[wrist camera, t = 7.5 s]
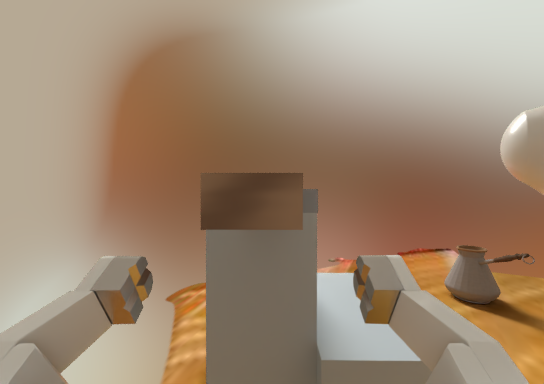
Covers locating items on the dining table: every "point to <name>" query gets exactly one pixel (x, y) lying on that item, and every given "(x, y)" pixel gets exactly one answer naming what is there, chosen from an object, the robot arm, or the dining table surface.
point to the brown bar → (251, 201)
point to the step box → (292, 315)
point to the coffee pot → (475, 275)
